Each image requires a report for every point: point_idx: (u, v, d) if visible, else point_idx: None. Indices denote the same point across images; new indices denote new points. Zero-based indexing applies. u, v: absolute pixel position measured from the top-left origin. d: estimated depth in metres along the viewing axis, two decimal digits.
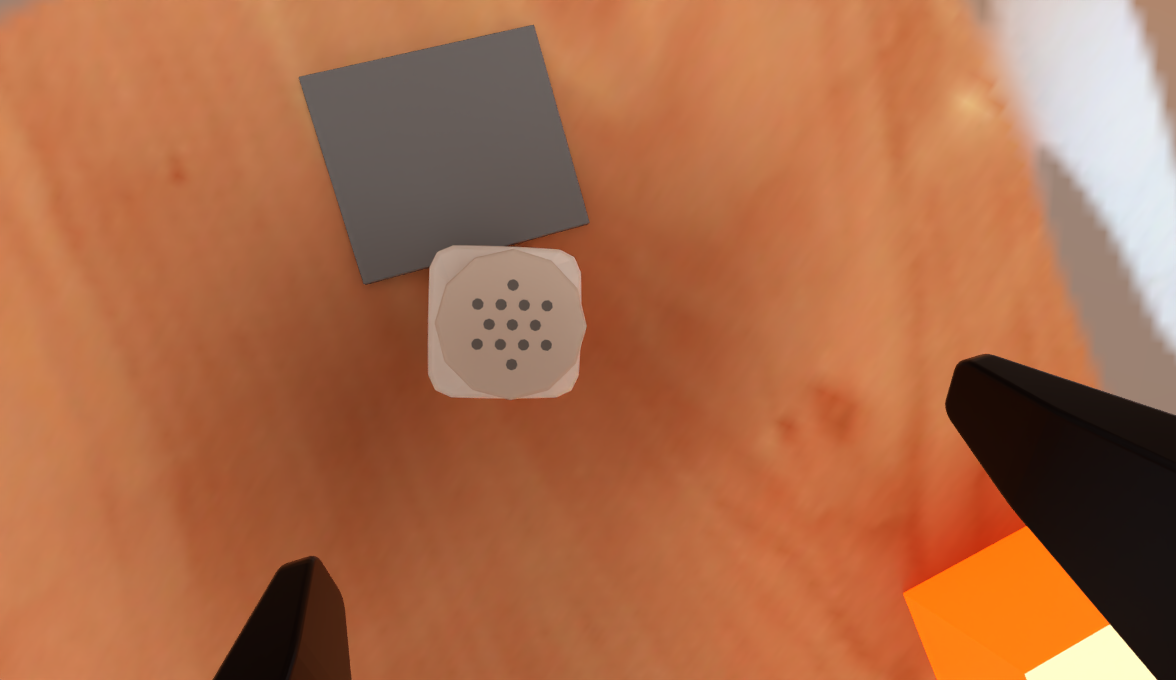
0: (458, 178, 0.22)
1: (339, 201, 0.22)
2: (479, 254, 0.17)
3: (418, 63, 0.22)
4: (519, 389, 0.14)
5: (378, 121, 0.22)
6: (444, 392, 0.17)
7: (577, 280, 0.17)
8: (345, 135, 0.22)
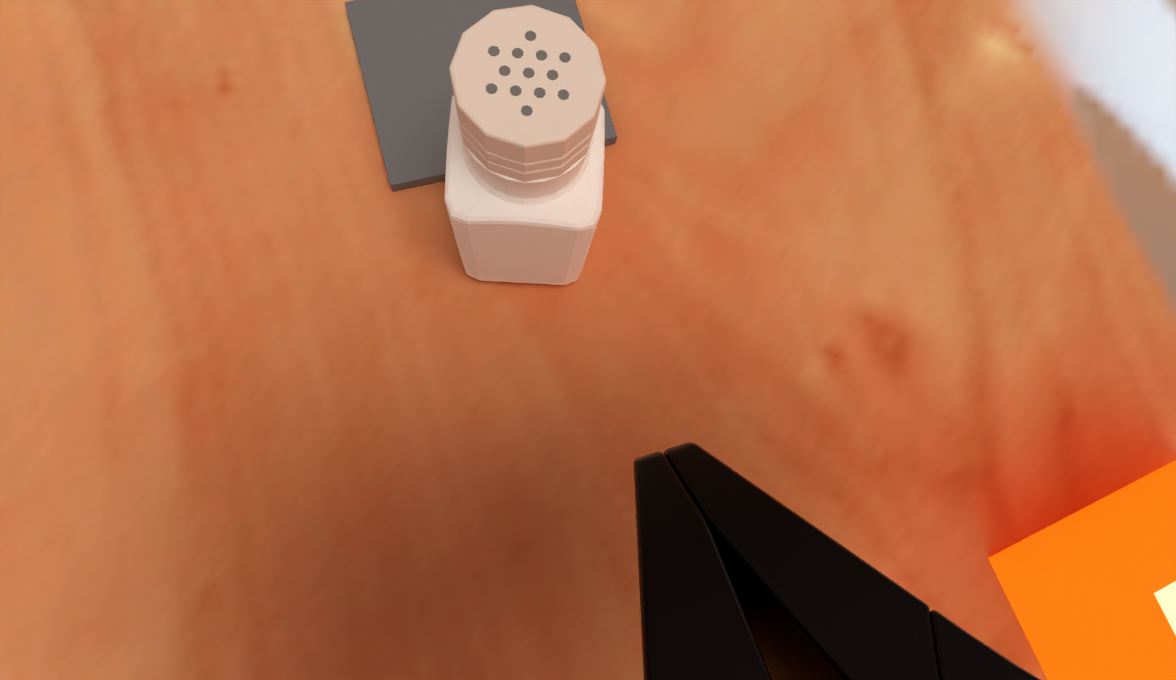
0: None
1: (373, 109, 0.22)
2: None
3: None
4: (534, 135, 0.13)
5: (415, 41, 0.23)
6: (460, 217, 0.16)
7: (600, 112, 0.17)
8: (383, 52, 0.23)
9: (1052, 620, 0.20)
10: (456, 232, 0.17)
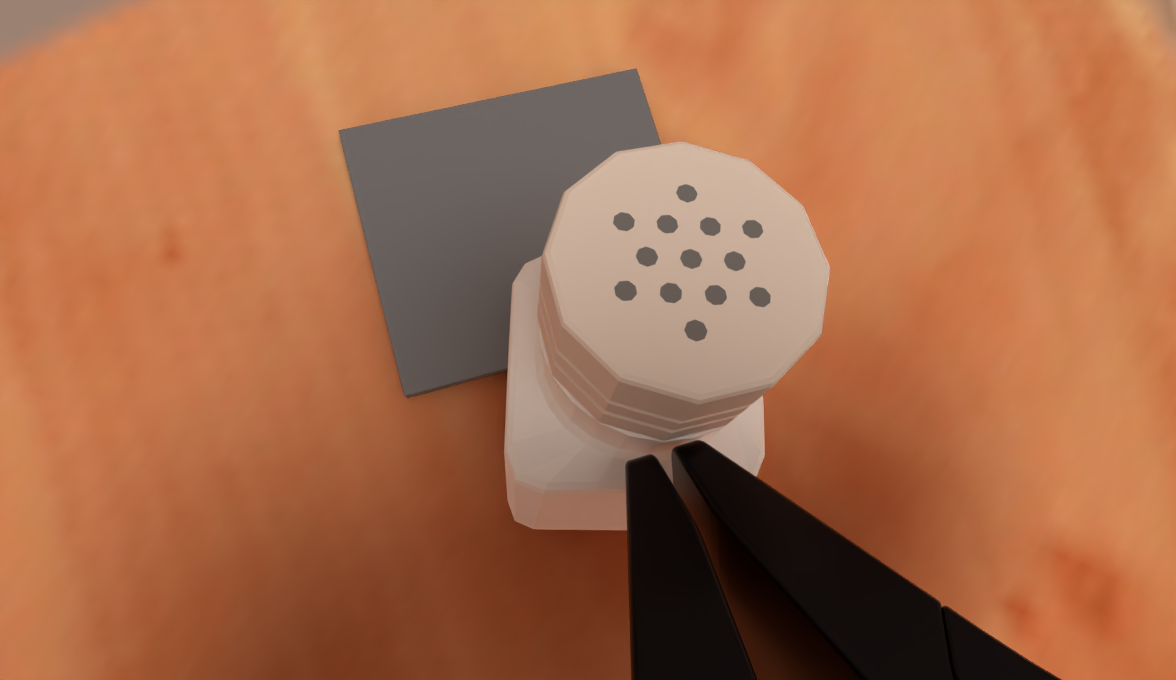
0: (538, 254, 0.16)
1: (379, 284, 0.16)
2: None
3: (491, 113, 0.17)
4: (716, 379, 0.07)
5: (436, 183, 0.16)
6: (532, 483, 0.09)
7: None
8: (392, 200, 0.16)
9: None
10: (518, 494, 0.11)
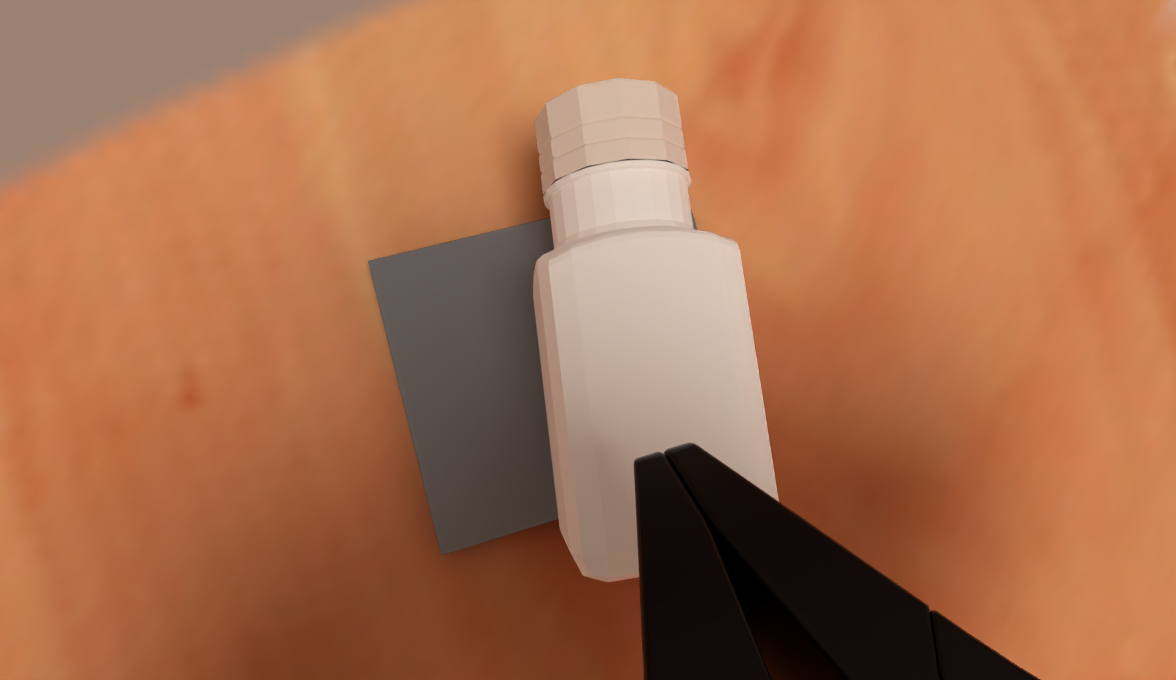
0: None
1: (413, 431, 0.15)
2: None
3: (530, 239, 0.16)
4: None
5: (473, 317, 0.15)
6: (561, 253, 0.12)
7: None
8: (426, 338, 0.15)
9: None
10: (557, 319, 0.12)
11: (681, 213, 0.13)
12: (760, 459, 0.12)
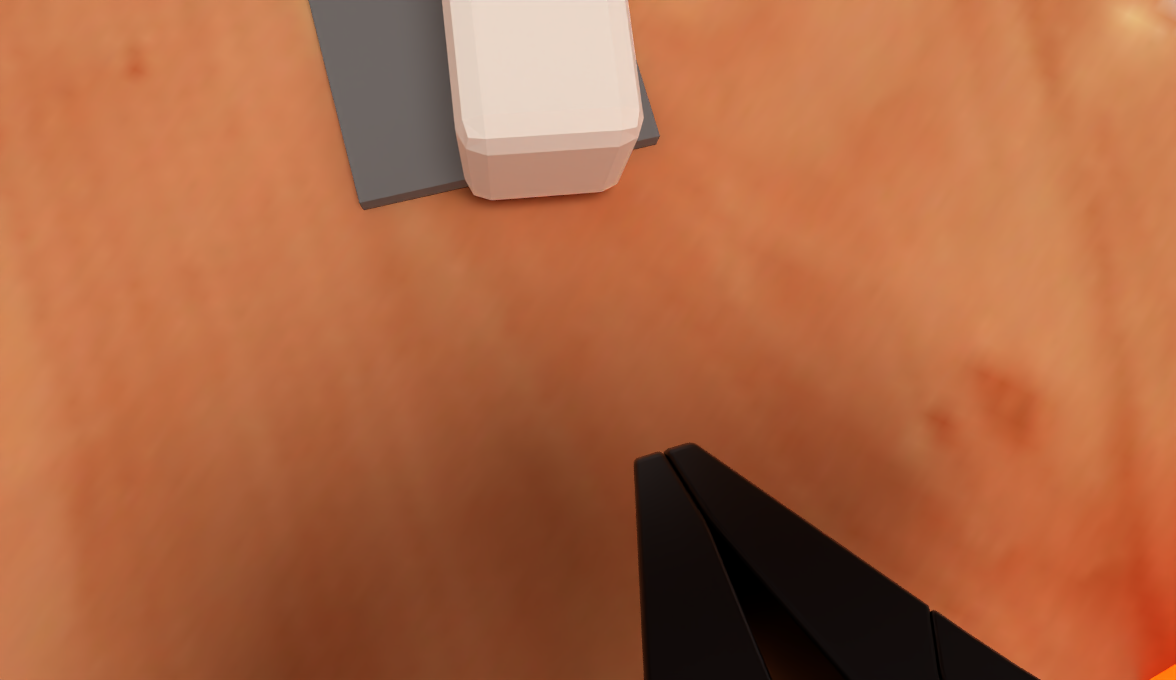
0: None
1: (335, 99, 0.17)
2: None
3: None
4: None
5: (392, 7, 0.17)
6: None
7: None
8: (349, 22, 0.17)
9: None
10: None
11: None
12: (621, 51, 0.14)
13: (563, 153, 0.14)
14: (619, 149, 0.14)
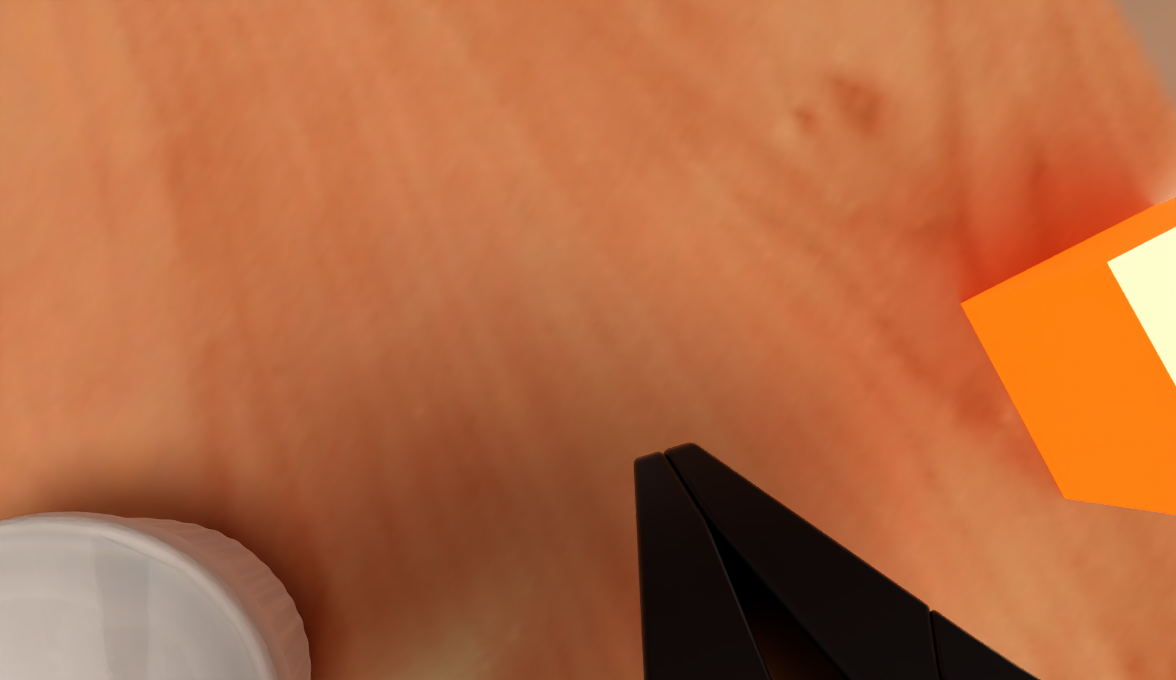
0: None
1: None
2: None
3: None
4: None
5: None
6: None
7: None
8: None
9: (1020, 343, 0.21)
10: None
11: None
12: None
13: None
14: None
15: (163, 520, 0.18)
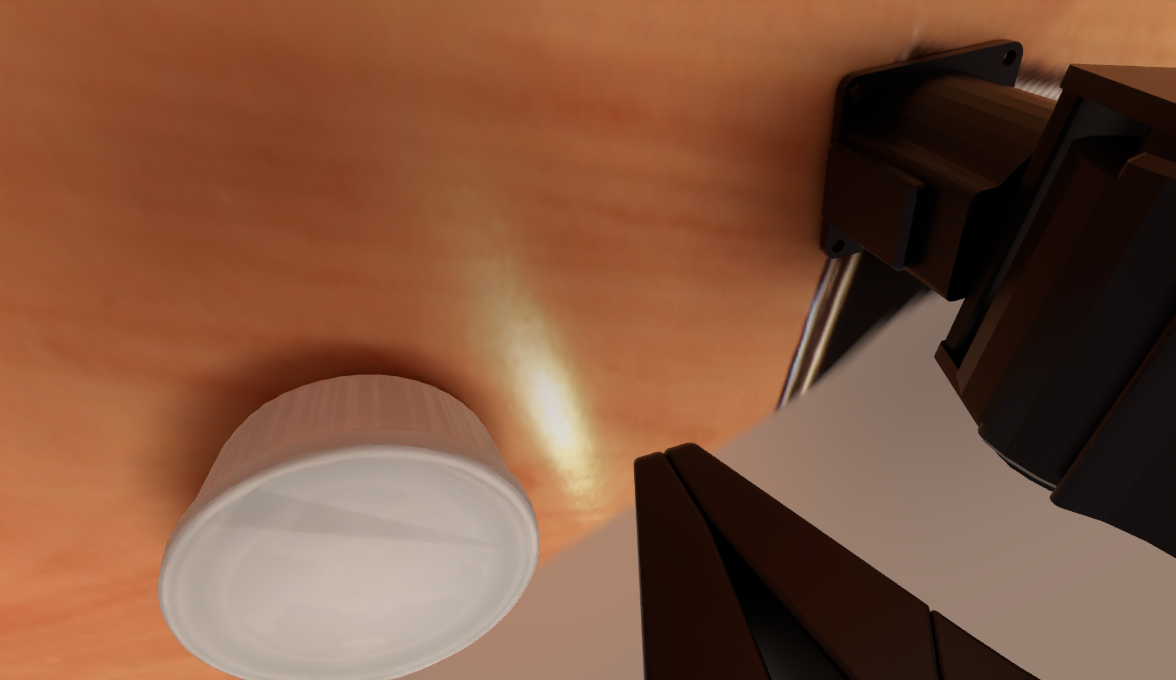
0: None
1: None
2: None
3: None
4: None
5: None
6: None
7: None
8: None
9: None
10: None
11: None
12: None
13: None
14: None
15: (229, 443, 0.20)
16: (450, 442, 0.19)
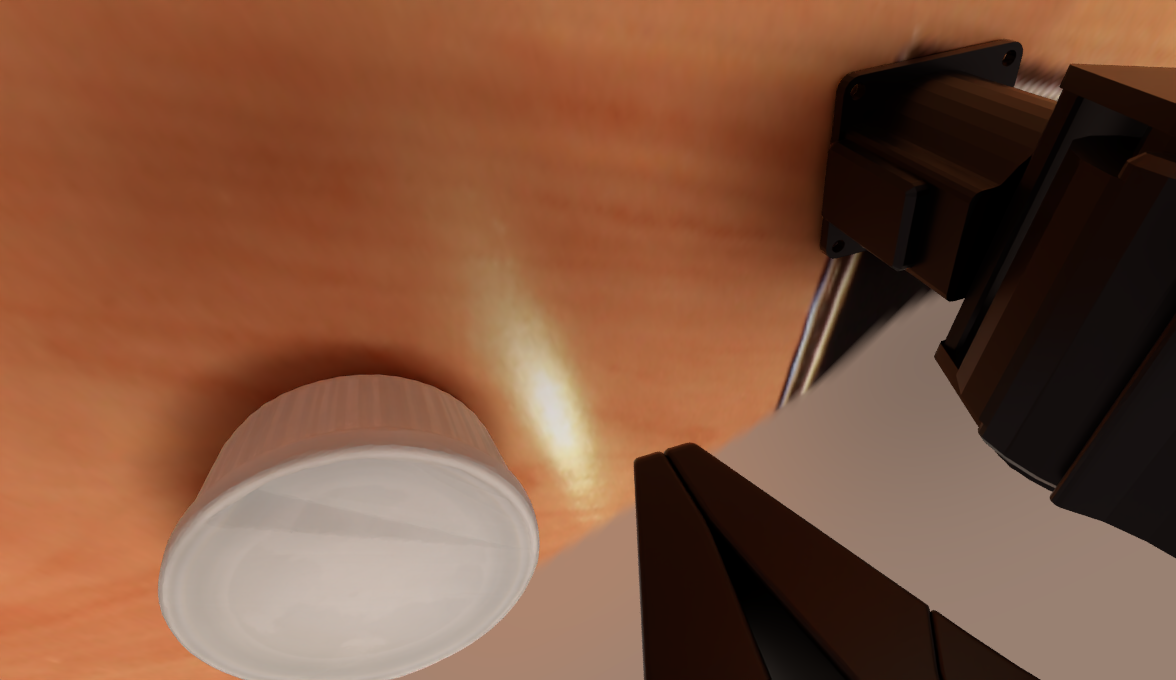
0: None
1: None
2: None
3: None
4: None
5: None
6: None
7: None
8: None
9: None
10: None
11: None
12: None
13: None
14: None
15: (229, 443, 0.20)
16: (451, 442, 0.19)
